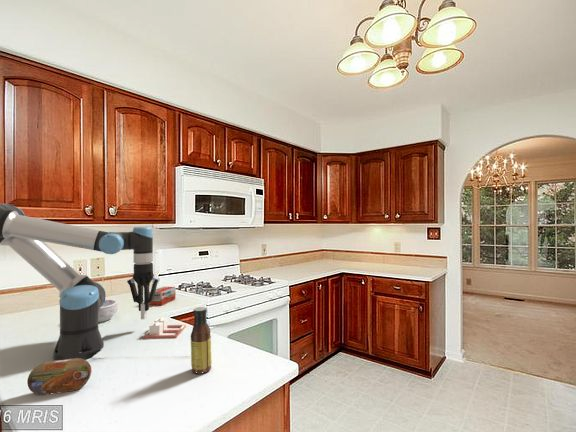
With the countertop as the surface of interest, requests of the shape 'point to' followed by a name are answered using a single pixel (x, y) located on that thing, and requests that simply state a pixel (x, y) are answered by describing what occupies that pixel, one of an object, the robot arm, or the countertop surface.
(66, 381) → the tin
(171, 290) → the medicine box
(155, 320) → the white toy block
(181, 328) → the red compartment tray
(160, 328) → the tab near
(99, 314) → the paper bowls
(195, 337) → the sauce bottle
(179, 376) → the countertop surface
